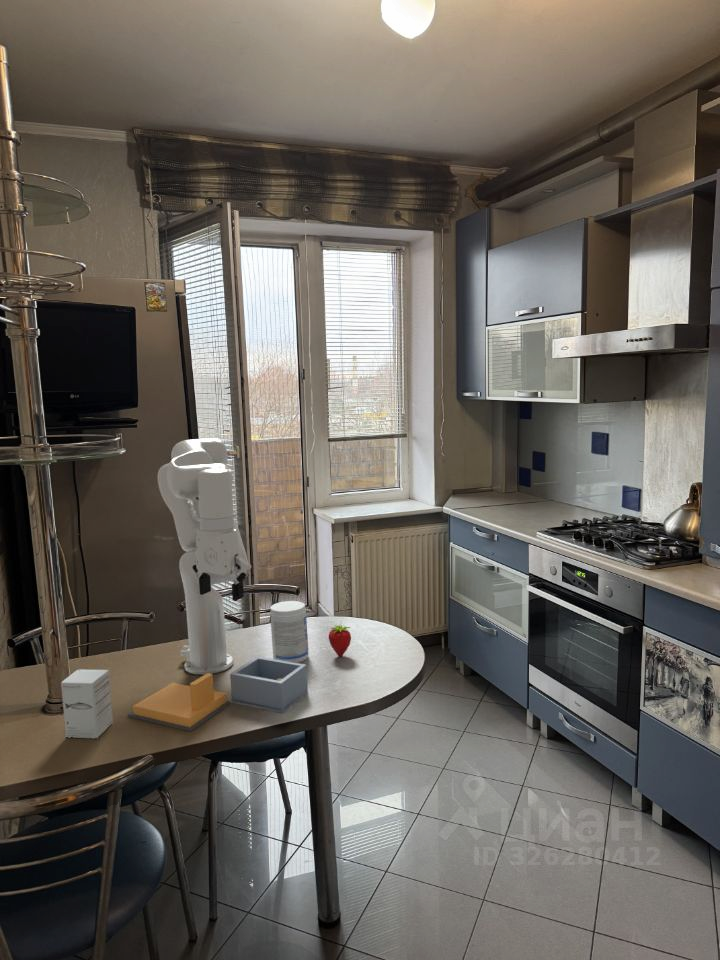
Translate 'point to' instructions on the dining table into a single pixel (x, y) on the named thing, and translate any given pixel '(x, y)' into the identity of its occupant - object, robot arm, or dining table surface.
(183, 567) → the robot arm
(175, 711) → the lid
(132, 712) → the mat
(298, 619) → the supplement tub
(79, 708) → the supplement box
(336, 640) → the strawberry
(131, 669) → the dining table surface
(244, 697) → the parts tub
